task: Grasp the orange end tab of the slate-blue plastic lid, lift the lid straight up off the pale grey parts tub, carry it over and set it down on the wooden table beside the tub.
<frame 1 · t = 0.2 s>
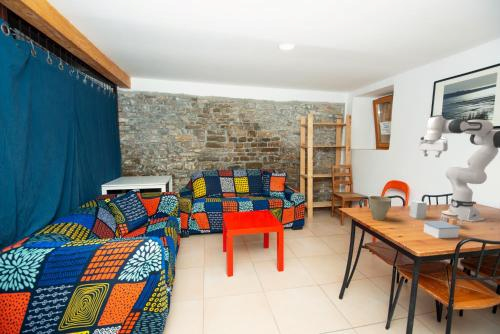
hand: (431, 156, 167), 48 cm above the table, fingers open, 8 cm apart
supplement box: (417, 217, 176), on the table
tub: (440, 234, 144), on the table
teacup with lid: (450, 226, 159), on the table
plant pot: (378, 219, 172), on the table
lid: (441, 225, 144), point 6 cm above the table, touching tub
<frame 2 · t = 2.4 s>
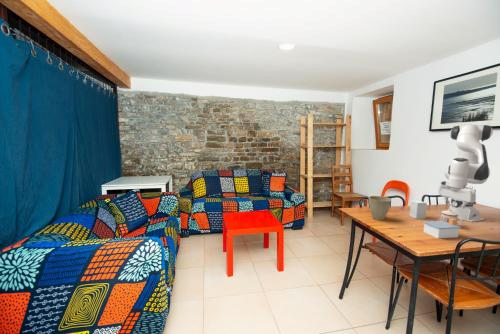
hand: (454, 205, 143), 19 cm above the table, fingers open, 8 cm apart
nothing on the table moved.
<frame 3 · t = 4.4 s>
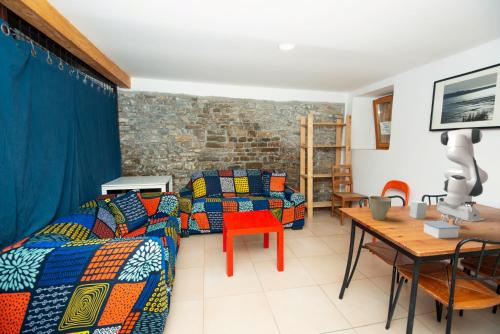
hand: (452, 222, 144), 8 cm above the table, fingers closed on lid, 2 cm apart
lid: (441, 225, 144), point 6 cm above the table, touching gripper, tub
everything else where it was.
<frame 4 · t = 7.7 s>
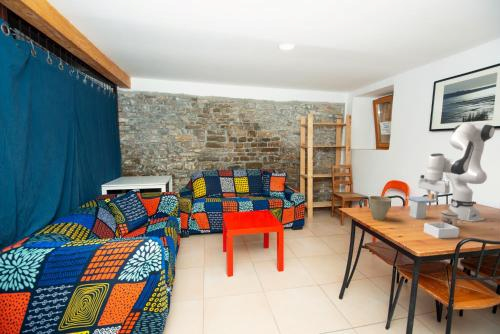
hand: (432, 197, 156), 21 cm above the table, fingers closed on lid, 2 cm apart
lid: (421, 199, 155), point 19 cm above the table, touching gripper
everything else where it was.
when the fingers open (4 cm above the table, at t = 11.3 s): lid drops 2 cm, point 1 cm above the table.
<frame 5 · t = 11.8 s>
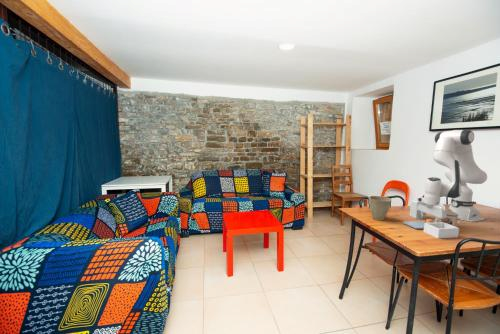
hand: (429, 220, 158), 4 cm above the table, fingers open, 8 cm apart
lid: (419, 225, 158), point 1 cm above the table
everything else where it was.
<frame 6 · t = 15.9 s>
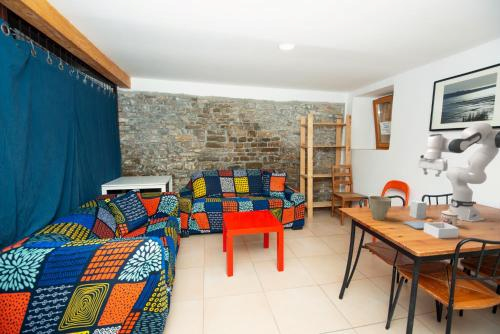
hand: (431, 175, 165), 34 cm above the table, fingers open, 8 cm apart
nothing on the table moved.
at the end: lid point 0.6 cm above the table; lid inside the target area (0.7 cm from its centre), point 0.6 cm above the table; the gripper is holding nothing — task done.
